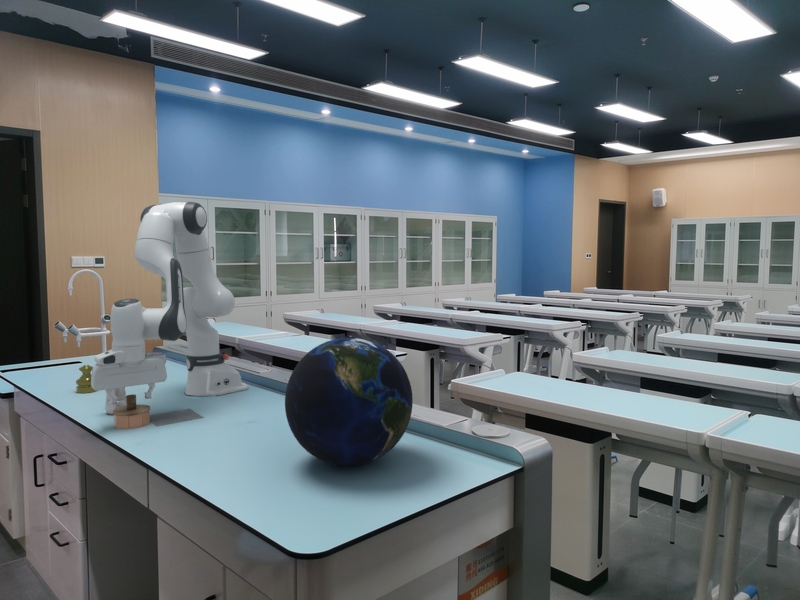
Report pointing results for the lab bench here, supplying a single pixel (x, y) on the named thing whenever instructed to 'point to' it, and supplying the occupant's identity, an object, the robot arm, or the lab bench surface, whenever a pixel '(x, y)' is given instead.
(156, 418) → the mat
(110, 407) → the plastic bottle
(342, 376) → the globe
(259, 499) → the lab bench surface
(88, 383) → the gold chess piece
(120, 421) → the bowl
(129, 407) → the lid
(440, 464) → the lab bench surface
